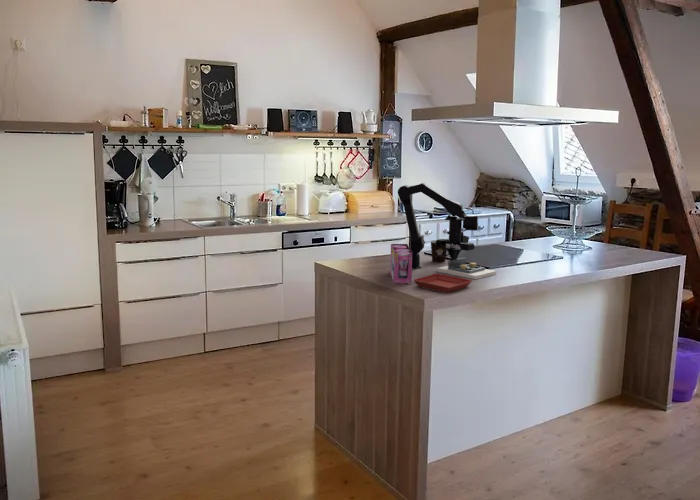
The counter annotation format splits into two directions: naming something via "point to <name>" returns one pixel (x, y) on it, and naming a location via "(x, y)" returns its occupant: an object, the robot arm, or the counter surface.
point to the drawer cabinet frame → (462, 261)
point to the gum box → (401, 263)
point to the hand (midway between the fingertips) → (454, 262)
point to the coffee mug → (438, 252)
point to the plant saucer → (442, 282)
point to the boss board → (469, 275)
